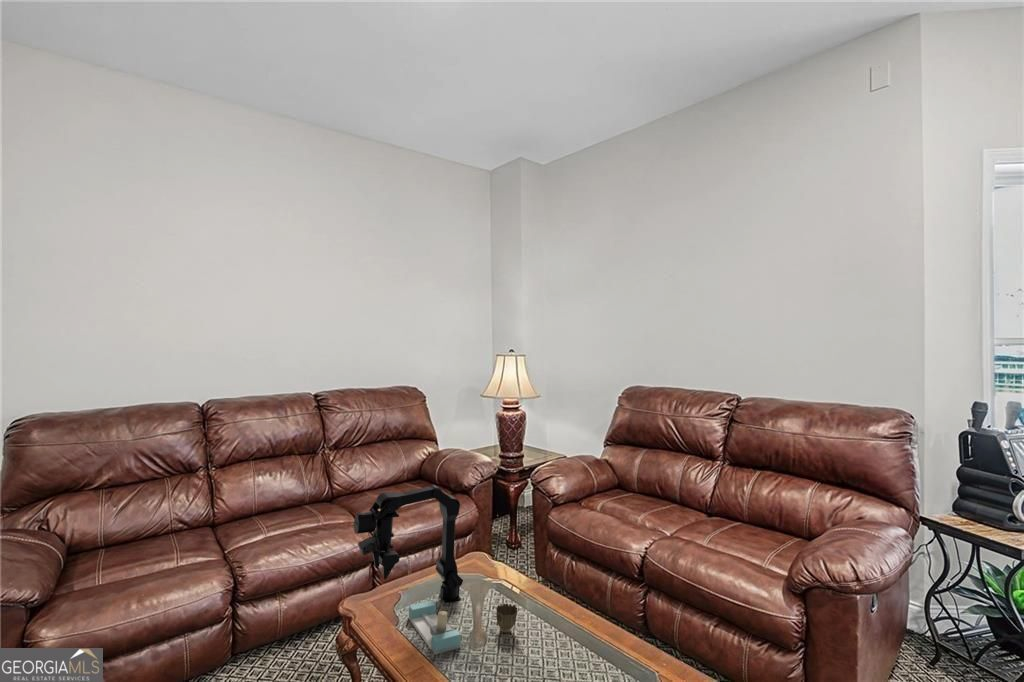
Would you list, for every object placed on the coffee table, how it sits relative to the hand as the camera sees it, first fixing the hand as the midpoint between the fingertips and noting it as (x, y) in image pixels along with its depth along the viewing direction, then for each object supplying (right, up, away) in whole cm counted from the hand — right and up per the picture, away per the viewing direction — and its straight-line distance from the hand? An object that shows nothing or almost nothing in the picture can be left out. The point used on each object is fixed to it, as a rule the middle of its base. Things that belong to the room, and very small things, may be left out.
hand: (380, 573), depth 187 cm
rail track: (+20, -16, -8) cm, 27 cm away
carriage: (+23, -15, -13) cm, 31 cm away
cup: (+44, -19, -4) cm, 48 cm away
